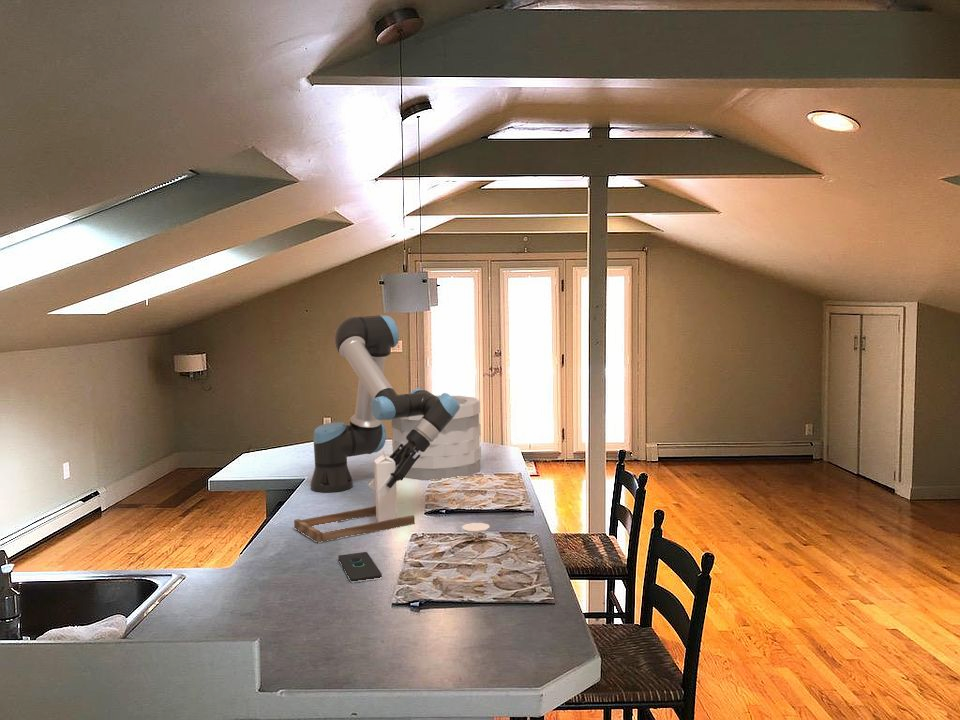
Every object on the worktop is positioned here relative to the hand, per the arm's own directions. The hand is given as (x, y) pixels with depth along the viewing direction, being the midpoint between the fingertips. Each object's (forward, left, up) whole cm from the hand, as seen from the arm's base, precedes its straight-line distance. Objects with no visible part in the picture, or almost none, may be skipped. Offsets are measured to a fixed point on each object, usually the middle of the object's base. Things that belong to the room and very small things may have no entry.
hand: (375, 491), depth 266 cm
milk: (+1, +3, -10) cm, 10 cm away
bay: (+1, -8, -10) cm, 13 cm away
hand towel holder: (+41, +11, -10) cm, 44 cm away
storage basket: (-50, +52, -10) cm, 73 cm away
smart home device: (+37, -24, -10) cm, 45 cm away
